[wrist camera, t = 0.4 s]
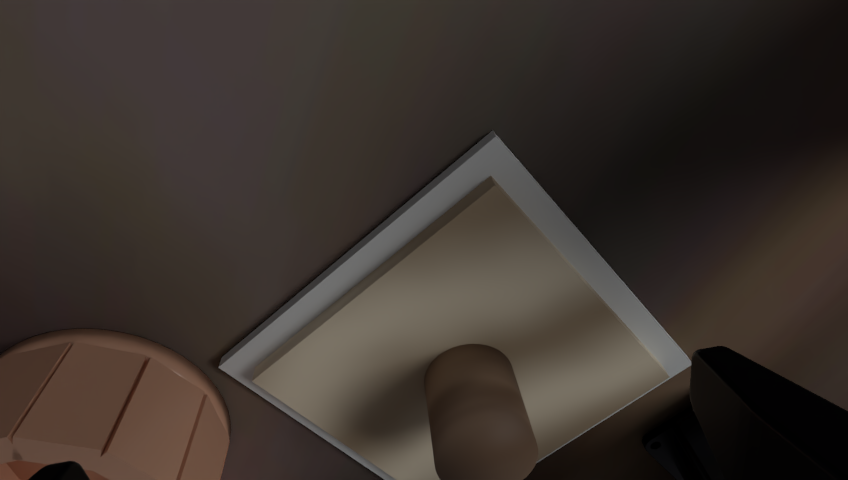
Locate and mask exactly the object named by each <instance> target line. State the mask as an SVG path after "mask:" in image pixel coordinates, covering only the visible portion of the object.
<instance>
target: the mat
mask: <svg viewBox="0 0 848 480" xmlns="http://www.w3.org/2000/svg"><path fill="white" fill-rule="evenodd" d="M490 176H492V177H493V178H494V179H495V181H496V182H497V183H498V184H499V185H500V186H501V187H502V188H503V189H504V191H505V192H506V193H507V194H508V195H509V196H510V197H511V198H512V199H513V201H514V202H515V203H516V204H517V205H518V206H519V207H520V208H521V209H522V210H523V212H524V213H525V214H526V215H527V216H528V217H529V218H530V219H531V220H532V222H533V223H534V224H535V225H536V226H537V227H538V228H539V229H540V230H541V231H542V233H543V234H544V235H545V236H546V237H547V238H548V239H549V240H550V241H551V243H552V244H553V245H554V246H555V247H556V248H557V249H558V250H559V251H560V253H561V254H562V255H563V256H564V257H565V258H566V259H567V260H568V261H569V262H570V264H571V265H572V266H573V267H574V268H575V269H576V270H577V271H578V272H579V274H580V275H581V276H582V277H583V278H584V279H585V280H586V281H587V282H588V283H589V285H590V286H591V287H592V288H593V289H594V290H595V291H596V292H597V293H598V295H599V296H600V297H601V298H602V299H603V300H604V301H605V302H606V303H607V305H608V306H609V307H610V308H611V309H612V310H613V311H614V312H615V313H616V314H617V316H618V317H619V318H620V319H621V320H622V321H623V322H624V323H625V324H626V326H627V327H628V328H629V329H630V330H631V331H632V332H633V333H634V334H635V335H636V337H637V338H638V339H639V340H640V341H641V342H642V343H643V344H644V345H645V347H646V348H647V349H648V350H649V351H650V352H651V353H652V354H653V355H654V357H655V358H656V359H657V360H658V361H659V362H660V363H661V364H662V366H663V367H664V369H665V370H666V372H667V374H668V375H669V378H668V379H670V378H672V377H673V376H675V375H676V374H678V373H679V372H681V371H683V370H684V369H686V368H687V367H689V366H691V361H690V360H689V358H688V357H687V355H686V354H685V353H684V352H683V351H682V349H681V348H680V347H679V346H678V345H677V344H676V342H675V341H674V340H673V339H672V338H671V337H670V336H669V334H668V333H667V332H666V331H665V330H664V329H663V327H662V326H661V325H660V324H659V323H658V322H657V320H656V319H655V318H654V317H653V316H652V315H651V313H650V312H649V311H648V310H647V309H646V308H645V306H644V305H643V304H642V303H641V302H640V301H639V300H638V298H637V297H636V296H635V295H634V294H633V293H632V291H631V290H630V289H629V288H628V287H627V286H626V284H625V283H624V282H623V281H622V280H621V279H620V277H619V276H618V275H617V274H616V273H615V272H614V271H613V269H612V268H611V267H610V266H609V265H608V264H607V262H606V261H605V260H604V259H603V258H602V257H601V255H600V254H599V253H598V252H597V251H596V250H595V248H594V247H593V246H592V245H591V244H590V243H589V241H588V240H587V239H586V238H585V237H584V236H583V235H582V233H581V232H580V231H579V230H578V229H577V228H576V226H575V225H574V224H573V223H572V222H571V221H570V219H569V218H568V217H567V216H566V215H565V214H564V212H563V211H562V210H561V209H560V208H559V207H558V206H557V204H556V203H555V202H554V201H553V200H552V199H551V197H550V196H549V195H548V194H547V193H546V192H545V190H544V189H543V188H542V187H541V186H540V185H539V183H538V182H537V181H536V180H535V179H534V178H533V176H532V175H531V174H530V173H529V172H528V171H527V170H526V168H525V167H524V166H523V165H522V164H521V163H520V161H519V160H518V159H517V158H516V157H515V156H514V154H513V153H512V152H511V151H510V150H509V149H508V147H507V146H506V145H505V144H504V143H503V142H502V140H501V139H500V138H499V137H498V136H497V135H496V134H495V132H494V131H493V130H492V131H491V132H490V133H489V134H488V135H486V136H485V137H484V138H483V139H482V140H480V141H479V142H478V143H477V144H476V145H475V146H473V147H472V148H471V149H470V150H469V151H467V152H466V153H465V154H464V155H463V156H461V157H460V158H459V159H458V160H457V161H455V162H454V163H453V164H452V165H451V166H449V167H448V168H447V169H446V170H445V171H443V172H442V173H441V174H440V175H439V176H438V177H436V178H435V179H434V180H433V181H432V182H430V183H429V184H428V185H427V186H426V187H424V188H423V189H422V190H421V191H420V192H418V193H417V194H416V195H415V196H414V197H412V198H411V199H410V200H409V201H408V202H406V203H405V204H404V205H403V206H402V207H401V208H399V209H398V210H397V211H396V212H395V213H393V214H392V215H391V216H390V217H389V218H387V219H386V220H385V221H384V222H383V223H381V224H380V225H379V226H378V227H377V228H375V229H374V230H373V231H372V232H371V233H369V234H368V235H367V236H366V237H365V238H364V239H362V240H361V241H360V242H359V243H358V244H356V245H355V246H354V247H353V248H352V249H350V250H349V251H348V252H347V253H346V254H344V255H343V256H342V257H341V258H340V259H338V260H337V261H336V262H335V263H334V264H333V265H331V266H330V267H329V268H328V269H327V270H325V271H324V272H323V273H322V274H321V275H319V276H318V277H317V278H316V279H315V280H313V281H312V282H311V283H310V284H309V285H307V286H306V287H305V288H304V289H303V290H301V291H300V292H299V293H298V294H297V295H296V296H294V297H293V298H292V299H291V300H290V301H288V302H287V303H286V304H285V305H284V306H282V307H281V308H280V309H279V310H278V311H276V312H275V313H274V314H273V315H272V316H270V317H269V318H268V319H267V320H266V321H264V322H263V323H262V324H261V325H260V326H259V327H257V328H256V329H255V330H254V331H253V332H251V333H250V334H249V335H248V336H247V337H245V338H244V339H243V340H242V341H241V342H239V343H238V344H237V345H236V346H235V347H233V348H232V349H231V350H230V351H229V352H227V353H226V354H225V355H224V356H223V357H222V358H221V361H220V364H219V367H218V368H220V369H221V370H223V371H224V372H226V373H227V374H229V375H230V376H232V377H233V378H235V379H236V380H238V381H239V382H241V383H242V384H243V385H245V386H246V387H248V388H249V389H251V390H252V391H254V392H255V393H257V394H258V395H260V396H261V397H263V398H264V399H266V400H267V401H269V402H270V403H272V404H273V405H275V406H276V407H278V408H279V409H281V410H282V411H284V412H285V413H286V414H288V415H289V416H291V417H292V418H294V419H295V420H297V421H298V422H300V423H301V424H303V425H304V426H306V427H307V428H309V429H310V430H312V431H313V432H315V433H316V434H318V435H319V436H321V437H322V438H324V439H325V440H327V441H328V442H329V443H331V444H332V445H334V446H335V447H337V448H338V449H340V450H341V451H343V452H344V453H346V454H347V455H349V456H350V457H352V458H353V459H355V460H356V461H358V462H359V463H361V464H362V465H364V466H365V467H367V468H368V469H369V470H371V471H372V472H374V473H375V474H377V475H378V476H380V477H381V478H383V479H384V480H396V479H394V478H393V477H391V476H390V475H389V474H387V473H386V472H384V471H383V470H381V469H380V468H378V467H377V466H375V465H374V464H372V463H371V462H369V461H368V460H367V459H365V458H364V457H362V456H361V455H359V454H358V453H356V452H355V451H353V450H352V449H350V448H349V447H347V446H346V445H345V444H343V443H342V442H340V441H339V440H337V439H336V438H334V437H333V436H331V435H330V434H328V433H327V432H326V431H324V430H323V429H321V428H320V427H318V426H317V425H315V424H314V423H312V422H311V421H309V420H308V419H306V418H305V417H304V416H302V415H301V414H299V413H298V412H296V411H295V410H293V409H292V408H290V407H289V406H287V405H286V404H284V403H283V402H282V401H280V400H279V399H277V398H276V397H274V396H273V395H271V394H270V393H268V392H267V391H265V390H264V389H263V388H261V387H260V386H258V385H257V384H255V383H254V382H252V379H253V374H254V370H255V367H256V366H257V365H259V364H260V363H261V362H262V361H263V360H265V359H266V358H267V357H268V356H270V355H271V354H272V353H273V352H275V351H276V350H277V349H278V348H279V347H281V346H282V345H283V344H284V343H286V342H287V341H288V340H289V339H291V338H292V337H293V336H294V335H295V334H297V333H298V332H299V331H300V330H302V329H303V328H304V327H305V326H307V325H308V324H309V323H310V322H311V321H313V320H314V319H315V318H316V317H318V316H319V315H320V314H321V313H322V312H324V311H325V310H326V309H327V308H329V307H330V306H331V305H332V304H334V303H335V302H336V301H337V300H338V299H340V298H341V297H342V296H343V295H345V294H346V293H347V292H348V291H350V290H351V289H352V288H353V287H354V286H356V285H357V284H358V283H359V282H361V281H362V280H363V279H364V278H366V277H367V276H368V275H369V274H370V273H372V272H373V271H374V270H375V269H377V268H378V267H379V266H380V265H382V264H383V263H384V262H385V261H386V260H388V259H389V258H390V257H391V256H393V255H394V254H395V253H396V252H397V251H399V250H400V249H401V248H402V247H404V246H405V245H406V244H407V243H409V242H410V241H411V240H412V239H413V238H415V237H416V236H417V235H418V234H420V233H421V232H422V231H423V230H425V229H426V228H427V227H428V226H429V225H431V224H432V223H433V222H434V221H436V220H437V219H438V218H439V217H441V216H442V215H443V214H444V213H445V212H447V211H448V210H449V209H450V208H452V207H453V206H454V205H455V204H457V203H458V202H459V201H460V200H461V199H463V198H464V197H465V196H466V195H468V194H469V193H470V192H471V191H472V190H474V189H475V188H476V187H477V186H479V185H480V184H481V183H482V182H484V181H485V180H486V179H487V178H488V177H490ZM668 379H666V380H665V381H667V380H668ZM665 381H663V382H661V383H660V384H658V385H657V386H659V385H661V384H662V383H664V382H665ZM657 386H655V387H654V388H656V387H657ZM654 388H652V389H650V390H649V391H647V392H646V393H648V392H650V391H651V390H653V389H654ZM646 393H644V394H643V395H645V394H646ZM643 395H641V396H639V397H638V398H636V399H635V400H637V399H639V398H640V397H642V396H643ZM635 400H633V401H631V402H630V403H628V404H627V405H629V404H631V403H632V402H634V401H635ZM627 405H625V406H624V407H626V406H627ZM624 407H622V408H620V409H619V410H617V411H616V412H618V411H620V410H621V409H623V408H624ZM616 412H614V413H613V414H615V413H616ZM613 414H611V415H609V416H608V417H606V418H605V419H607V418H609V417H610V416H612V415H613ZM605 419H603V420H602V421H604V420H605ZM602 421H600V422H598V423H597V424H595V425H594V426H596V425H598V424H599V423H601V422H602ZM594 426H592V427H591V428H593V427H594ZM591 428H589V429H587V430H586V431H588V430H590V429H591ZM586 431H584V432H583V433H585V432H586ZM583 433H581V434H580V435H582V434H583ZM580 435H578V436H576V437H575V438H577V437H579V436H580ZM575 438H573V439H572V440H574V439H575ZM572 440H570V441H569V442H571V441H572ZM569 442H567V443H565V444H564V445H566V444H568V443H569ZM564 445H562V446H561V447H563V446H564ZM561 447H559V448H557V449H556V450H554V451H553V452H555V451H557V450H558V449H560V448H561ZM553 452H551V453H550V454H552V453H553ZM550 454H548V455H546V456H545V457H543V458H542V459H544V458H546V457H547V456H549V455H550ZM542 459H540V460H539V461H541V460H542ZM539 461H537V463H538V462H539Z"/></svg>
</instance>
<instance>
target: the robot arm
mask: <svg viewBox="0 0 848 480" xmlns="http://www.w3.org/2000/svg"><path fill="white" fill-rule="evenodd" d="M690 400H691V404H692V406H691V407H690V408H688V409H686V410H685V411H683V412H682V413H680V414H678V415H677V416H675V417H673V418H672V419H670V420H669V421H667V422H665V423H664V424H662V425H660V426H659V427H657V428H655V429H654V430H652V431H651V432H649V433H647V434H646V435H645V436H644V437H643V439H642V443H643V445H644V447H645V449H646V451H647V452H648V453H649V454H650V455H651V456H652V457H653V458H655V459H656V460H657V461H658V462H659V463H660V464H661V465H662V466H663V467H664V468H665V469H666V470H667V471H668V472H669V473H670V474H671V475H672V476H673V477H674V478H675V479H676V480H848V411H846V410H845V409H843V408H841V407H839V406H837V405H835V404H833V403H831V402H829V401H828V400H826V399H824V398H822V397H820V396H818V395H816V394H814V393H812V392H811V391H809V390H807V389H805V388H803V387H801V386H799V385H797V384H795V383H794V382H792V381H790V380H788V379H786V378H784V377H782V376H780V375H778V374H777V373H775V372H773V371H771V370H769V369H767V368H765V367H763V366H761V365H760V364H758V363H756V362H754V361H752V360H750V359H748V358H746V357H744V356H742V355H741V354H739V353H737V352H735V351H733V350H731V349H729V348H727V347H724V346H716V347H711V348H705V349H699V350H697V351H695V352H694V353H693V356H692V361H691V378H690ZM28 480H90V479H89V477H88V475H87V474H86V472H85V471H84V469H83V468H82V466H81V465H80V464H79V463H77V462H75V461H66V462H60V463H55V464H50V465H47V466H44V467H43V468H41V469H40V470H39V471H37V472H36V473H35V474H34V475H33V476H32V477H30V478H29V479H28Z"/></svg>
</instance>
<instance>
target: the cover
mask: <svg viewBox="0 0 848 480" xmlns="http://www.w3.org/2000/svg"><path fill="white" fill-rule="evenodd" d="M668 378H669V375H668V374H667V372H666V370H665V369H664V367H663V366H662V364H661V363H660V362H659V361H658V360H657V359H656V358H655V357H654V355H653V354H652V353H651V352H650V351H649V350H648V349H647V348H646V347H645V345H644V344H643V343H642V342H641V341H640V340H639V339H638V338H637V337H636V335H635V334H634V333H633V332H632V331H631V330H630V329H629V328H628V327H627V326H626V324H625V323H624V322H623V321H622V320H621V319H620V318H619V317H618V316H617V314H616V313H615V312H614V311H613V310H612V309H611V308H610V307H609V306H608V305H607V303H606V302H605V301H604V300H603V299H602V298H601V297H600V296H599V295H598V293H597V292H596V291H595V290H594V289H593V288H592V287H591V286H590V285H589V283H588V282H587V281H586V280H585V279H584V278H583V277H582V276H581V275H580V274H579V272H578V271H577V270H576V269H575V268H574V267H573V266H572V265H571V264H570V262H569V261H568V260H567V259H566V258H565V257H564V256H563V255H562V254H561V253H560V251H559V250H558V249H557V248H556V247H555V246H554V245H553V244H552V243H551V241H550V240H549V239H548V238H547V237H546V236H545V235H544V234H543V233H542V231H541V230H540V229H539V228H538V227H537V226H536V225H535V224H534V223H533V222H532V220H531V219H530V218H529V217H528V216H527V215H526V214H525V213H524V212H523V210H522V209H521V208H520V207H519V206H518V205H517V204H516V203H515V202H514V201H513V199H512V198H511V197H510V196H509V195H508V194H507V193H506V192H505V191H504V189H503V188H502V187H501V186H500V185H499V184H498V183H497V182H496V181H495V179H494V178H493V177H492V176H490V177H488V178H487V179H486V180H485V181H484V182H482V183H481V184H480V185H479V186H477V187H476V188H475V189H474V190H472V191H471V192H470V193H469V194H468V195H466V196H465V197H464V198H463V199H461V200H460V201H459V202H458V203H457V204H455V205H454V206H453V207H452V208H450V209H449V210H448V211H447V212H445V213H444V214H443V215H442V216H441V217H439V218H438V219H437V220H436V221H434V222H433V223H432V224H431V225H429V226H428V227H427V228H426V229H425V230H423V231H422V232H421V233H420V234H418V235H417V236H416V237H415V238H413V239H412V240H411V241H410V242H409V243H407V244H406V245H405V246H404V247H402V248H401V249H400V250H399V251H397V252H396V253H395V254H394V255H393V256H391V257H390V258H389V259H388V260H386V261H385V262H384V263H383V264H382V265H380V266H379V267H378V268H377V269H375V270H374V271H373V272H372V273H370V274H369V275H368V276H367V277H366V278H364V279H363V280H362V281H361V282H359V283H358V284H357V285H356V286H354V287H353V288H352V289H351V290H350V291H348V292H347V293H346V294H345V295H343V296H342V297H341V298H340V299H338V300H337V301H336V302H335V303H334V304H332V305H331V306H330V307H329V308H327V309H326V310H325V311H324V312H322V313H321V314H320V315H319V316H318V317H316V318H315V319H314V320H313V321H311V322H310V323H309V324H308V325H307V326H305V327H304V328H303V329H302V330H300V331H299V332H298V333H297V334H295V335H294V336H293V337H292V338H291V339H289V340H288V341H287V342H286V343H284V344H283V345H282V346H281V347H279V348H278V349H277V350H276V351H275V352H273V353H272V354H271V355H270V356H268V357H267V358H266V359H265V360H263V361H262V362H261V363H260V364H259V365H257V366H256V367H255V370H254V374H253V379H252V382H254V383H255V384H257V385H258V386H260V387H261V388H263V389H264V390H265V391H267V392H268V393H270V394H271V395H273V396H274V397H276V398H277V399H279V400H280V401H282V402H283V403H284V404H286V405H287V406H289V407H290V408H292V409H293V410H295V411H296V412H298V413H299V414H301V415H302V416H304V417H305V418H306V419H308V420H309V421H311V422H312V423H314V424H315V425H317V426H318V427H320V428H321V429H323V430H324V431H326V432H327V433H328V434H330V435H331V436H333V437H334V438H336V439H337V440H339V441H340V442H342V443H343V444H345V445H346V446H347V447H349V448H350V449H352V450H353V451H355V452H356V453H358V454H359V455H361V456H362V457H364V458H365V459H367V460H368V461H369V462H371V463H372V464H374V465H375V466H377V467H378V468H380V469H381V470H383V471H384V472H386V473H387V474H389V475H390V476H391V477H393V478H394V479H396V480H523V479H524V478H526V477H527V476H528V475H529V474H530V472H531V471H532V470H533V468H534V467H535V465H536V463H537V461H539V460H540V459H542V458H543V457H545V456H546V455H548V454H550V453H551V452H553V451H554V450H556V449H557V448H559V447H561V446H562V445H564V444H565V443H567V442H569V441H570V440H572V439H573V438H575V437H576V436H578V435H580V434H581V433H583V432H584V431H586V430H587V429H589V428H591V427H592V426H594V425H595V424H597V423H598V422H600V421H602V420H603V419H605V418H606V417H608V416H609V415H611V414H613V413H614V412H616V411H617V410H619V409H620V408H622V407H624V406H625V405H627V404H628V403H630V402H631V401H633V400H635V399H636V398H638V397H639V396H641V395H643V394H644V393H646V392H647V391H649V390H650V389H652V388H654V387H655V386H657V385H658V384H660V383H661V382H663V381H665V380H666V379H668Z"/></svg>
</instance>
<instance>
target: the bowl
mask: <svg viewBox="0 0 848 480" xmlns="http://www.w3.org/2000/svg"><path fill="white" fill-rule="evenodd" d="M230 434H231V421H230V416H229V412H228V409H227V406H226V404H225V401H224V399H223V397H222V395H221V394H220V392H219V390H218V389H217V387H216V386H215V385H214V384H213V382H212V381H211V380H210V379H209V377H208V376H206V375H205V374H204V373H203V372H202V371H201V370H200V369H199V368H198V367H197V366H195V365H194V364H193V363H191V362H190V361H189V360H187V359H186V358H185V357H183V356H181V355H180V354H178V353H176V352H174V351H173V350H171V349H169V348H167V347H165V346H162V345H160V344H158V343H156V342H153V341H150V340H148V339H145V338H142V337H139V336H135V335H131V334H127V333H123V332H117V331H110V330H103V329H85V328H84V329H66V330H59V331H53V332H48V333H44V334H41V335H37V336H33V337H31V338H29V339H26V340H24V341H21V342H19V343H17V344H16V345H14V346H12V347H11V348H9V349H7V350H6V351H5V352H3V353H2V354H1V355H0V480H28V479H29V478H30V477H32V476H33V475H34V474H35V473H36V472H37V471H39V470H40V469H41V468H43V467H44V466H47V465H50V464H55V463H60V462H66V461H75V462H77V463H79V464H80V465H81V466H82V468H83V469H84V471H85V472H86V474H87V475H88V477H89V479H90V480H220V479H221V475H222V471H223V467H224V463H225V459H226V454H227V450H228V446H229V442H230Z"/></svg>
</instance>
